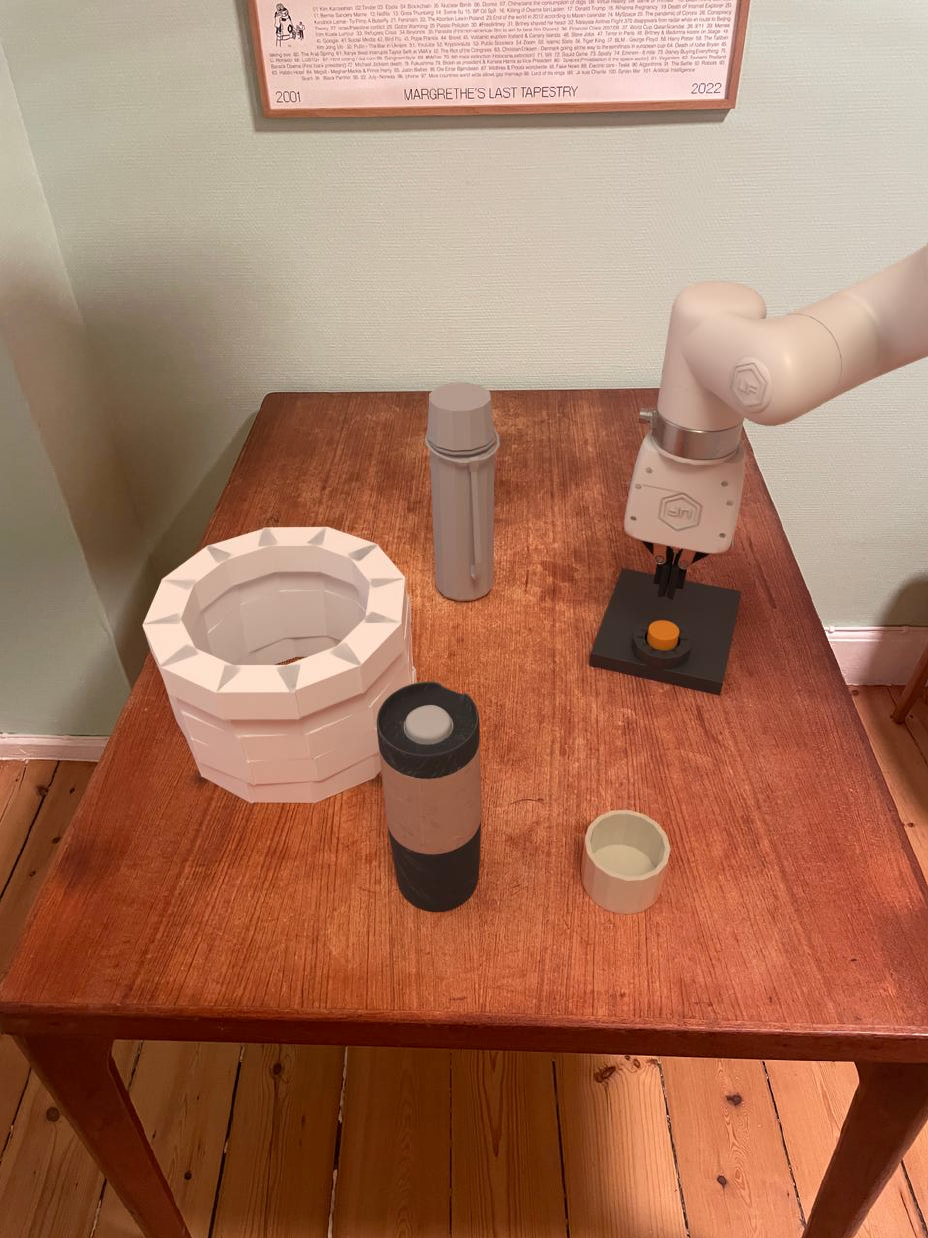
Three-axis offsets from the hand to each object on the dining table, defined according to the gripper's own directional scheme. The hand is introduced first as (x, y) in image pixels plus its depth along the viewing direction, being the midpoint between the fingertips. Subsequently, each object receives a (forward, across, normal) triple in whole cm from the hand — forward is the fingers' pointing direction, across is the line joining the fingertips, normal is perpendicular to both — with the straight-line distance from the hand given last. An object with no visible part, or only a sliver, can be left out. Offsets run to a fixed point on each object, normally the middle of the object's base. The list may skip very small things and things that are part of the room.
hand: (667, 589), depth 91 cm
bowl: (+10, +2, -28) cm, 30 cm away
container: (+10, -33, -20) cm, 40 cm away
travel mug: (+10, -13, -33) cm, 37 cm away
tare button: (+7, 0, 0) cm, 7 cm away
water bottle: (+10, -24, +5) cm, 26 cm away
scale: (+10, 0, +5) cm, 11 cm away
